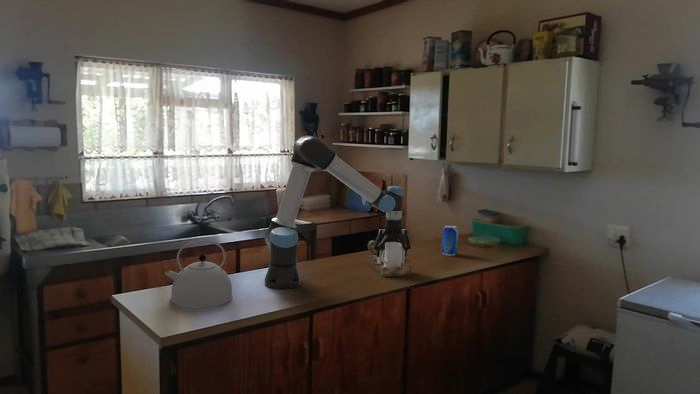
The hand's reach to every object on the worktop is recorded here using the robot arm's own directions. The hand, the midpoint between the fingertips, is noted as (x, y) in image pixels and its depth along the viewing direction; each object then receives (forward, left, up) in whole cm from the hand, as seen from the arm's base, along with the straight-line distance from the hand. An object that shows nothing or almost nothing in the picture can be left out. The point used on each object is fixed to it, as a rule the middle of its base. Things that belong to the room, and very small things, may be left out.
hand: (390, 263), depth 245 cm
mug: (-1, 0, -3) cm, 3 cm away
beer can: (+44, +28, -4) cm, 52 cm away
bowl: (+3, +24, -4) cm, 25 cm away
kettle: (-88, -29, -4) cm, 92 cm away
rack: (0, +2, -4) cm, 4 cm away
